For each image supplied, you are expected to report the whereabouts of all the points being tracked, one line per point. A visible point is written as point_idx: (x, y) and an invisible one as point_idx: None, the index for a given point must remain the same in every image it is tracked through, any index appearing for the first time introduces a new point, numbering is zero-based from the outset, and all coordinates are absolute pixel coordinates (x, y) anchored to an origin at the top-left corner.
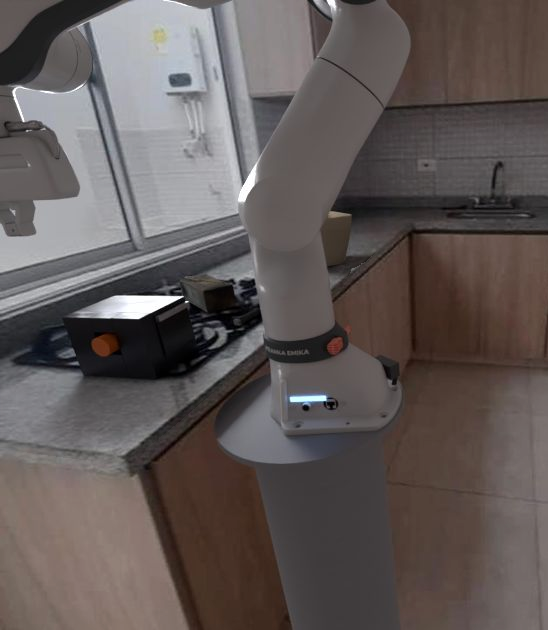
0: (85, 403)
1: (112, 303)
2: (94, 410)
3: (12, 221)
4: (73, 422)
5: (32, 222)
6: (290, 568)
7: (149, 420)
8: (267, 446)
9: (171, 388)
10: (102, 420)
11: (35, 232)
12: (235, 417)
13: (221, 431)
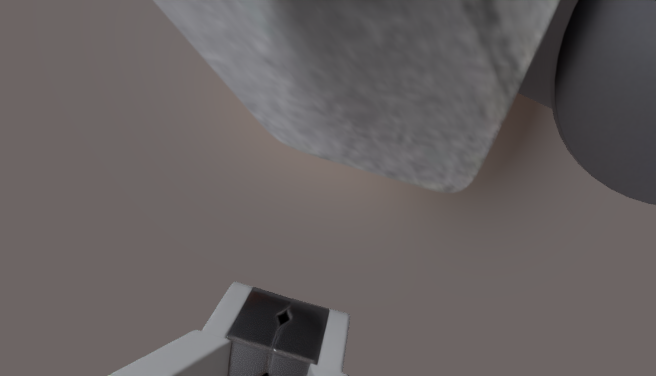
0: (325, 56)
1: None
2: (356, 82)
3: (225, 372)
4: (344, 114)
5: (341, 365)
6: (537, 101)
7: (467, 125)
8: (649, 170)
9: (468, 15)
10: (388, 115)
11: (347, 318)
12: (592, 86)
13: (571, 124)
